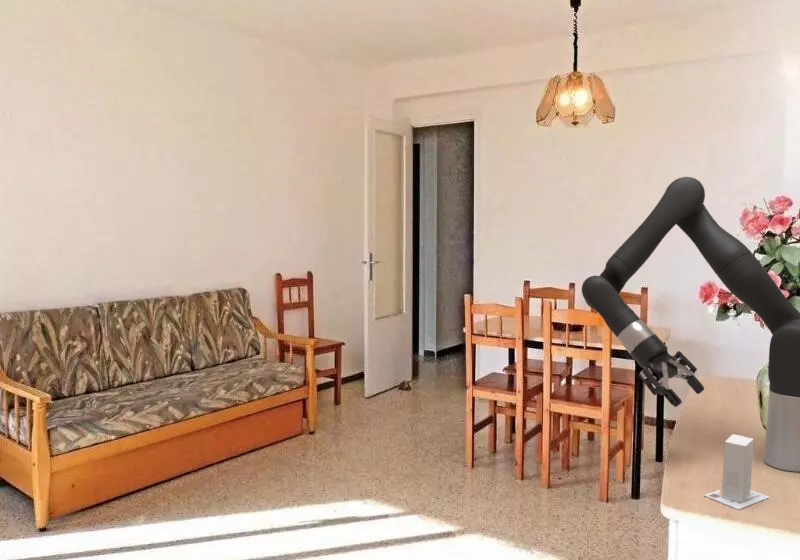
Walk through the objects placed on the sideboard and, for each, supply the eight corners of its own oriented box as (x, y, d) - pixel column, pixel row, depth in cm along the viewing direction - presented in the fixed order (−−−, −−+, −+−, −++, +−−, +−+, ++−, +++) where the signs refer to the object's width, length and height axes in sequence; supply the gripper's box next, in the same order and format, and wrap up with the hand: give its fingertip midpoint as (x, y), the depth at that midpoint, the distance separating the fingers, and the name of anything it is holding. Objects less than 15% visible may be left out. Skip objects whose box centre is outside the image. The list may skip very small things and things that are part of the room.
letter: (735, 484, 146) (735, 484, 146) (769, 497, 140) (769, 496, 140) (703, 496, 140) (703, 495, 140) (738, 510, 134) (738, 509, 134)
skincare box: (728, 488, 144) (732, 433, 142) (750, 494, 141) (754, 438, 140) (720, 497, 139) (724, 440, 138) (742, 503, 136) (747, 445, 135)
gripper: (652, 343, 169) (699, 396, 161) (614, 361, 161) (662, 417, 154) (669, 325, 163) (718, 379, 156) (630, 343, 156) (680, 400, 148)
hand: (690, 398), depth 155 cm, fingers open, 8 cm apart
